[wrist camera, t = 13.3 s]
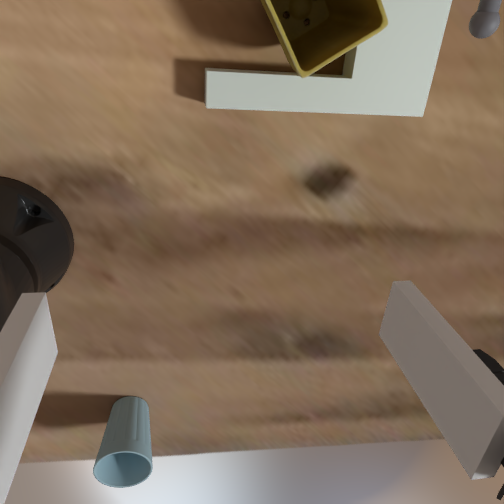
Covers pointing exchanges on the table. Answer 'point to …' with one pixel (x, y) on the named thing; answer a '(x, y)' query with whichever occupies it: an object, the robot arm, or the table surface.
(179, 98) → the table surface
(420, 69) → the l-shaped hook stand
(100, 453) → the cup
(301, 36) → the flower pot
